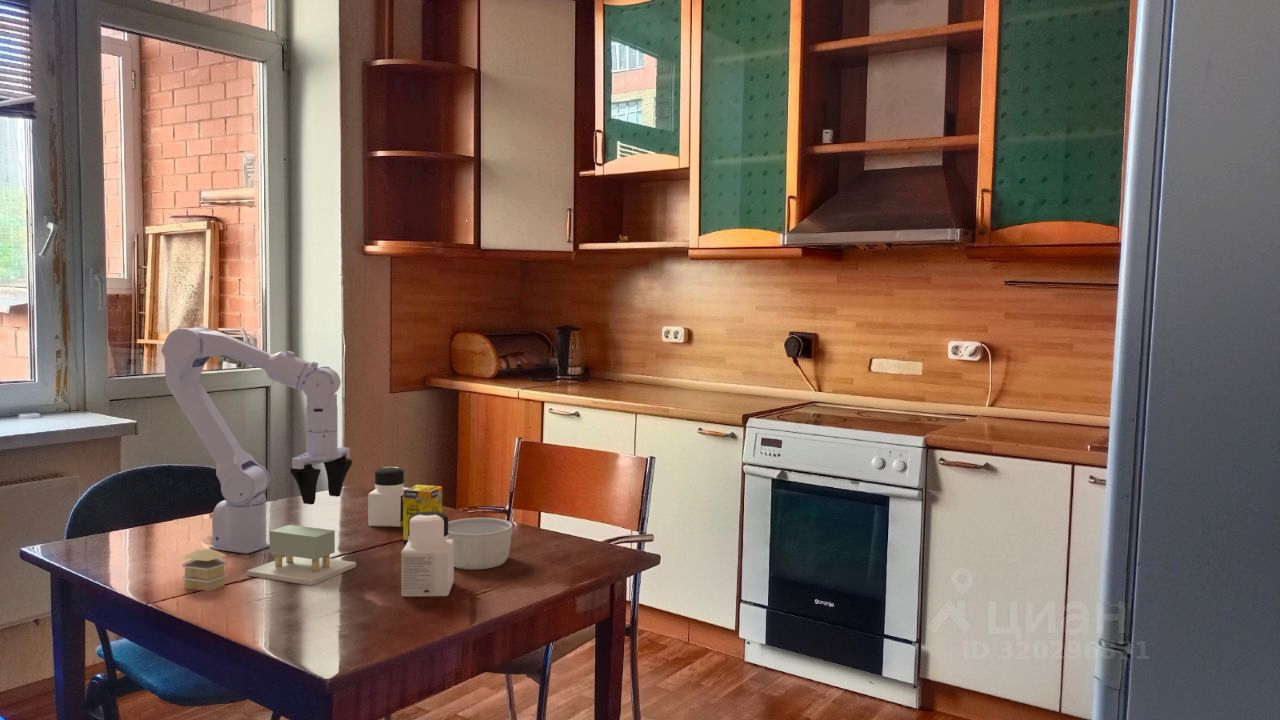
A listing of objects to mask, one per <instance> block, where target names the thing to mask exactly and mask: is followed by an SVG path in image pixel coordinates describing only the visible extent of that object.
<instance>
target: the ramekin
mask: <svg viewBox="0 0 1280 720" xmlns="http://www.w3.org/2000/svg"><path fill="white" fill-rule="evenodd" d="M513 530H514V527H513V523H512V522H510V521H508V520H505V519H500V518H493V517H470V518H461V519H459V518H458V519H454V520H451V521H448V539H453V540H454V568H456V569H461V570H486V569H492V568H496V567H499V566H501V565H503V564H505V562H506V561H507V559H508V558H509V555H510V550H511V548H510V547H511V541H512V534H513Z"/></svg>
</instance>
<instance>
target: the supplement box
mask: <svg viewBox="0 0 1280 720" xmlns="http://www.w3.org/2000/svg"><path fill="white" fill-rule="evenodd" d="M408 488H409V489H405V490H404V507H403V525H402V528H403V531H402V533H403V534H402V544H405V545H406V544H407V542H408V541H409V540H408V519H409V518H410V516H412V515H414V514H416V513H419V512H425V511H435V512H441V513H443V486H441V485H426V484H415V485H414V486H411V487H408Z"/></svg>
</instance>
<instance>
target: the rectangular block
mask: <svg viewBox="0 0 1280 720" xmlns="http://www.w3.org/2000/svg"><path fill="white" fill-rule="evenodd" d="M335 533H336V531H335V530H333V529H326V528H325V529H324V528H320V527H319V528H318V527H309V526H304V525H303V526H302V525H293V524H287V525H284V526H280V527H277V528H275V529H272V530H269V541H270V546H269V554H272V555H275V554H279V555H282V556H285V557H286V556H293V557H300V558H307V559H314V560H317V559H319V558H322V557H324V556H327V555H330V556H331V555H332V554H335V553H336V552H335V551H336V545H335V543H336V541H335V540H336V539H335V537H336V534H335Z"/></svg>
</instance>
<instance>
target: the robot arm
mask: <svg viewBox="0 0 1280 720" xmlns="http://www.w3.org/2000/svg"><path fill="white" fill-rule="evenodd" d="M161 354H162V355H163V358H164V374H165V383H166V386H167V388H168V390H169V391H170V392H171V394H172V396H173V397H174V400H175V401H176V402H177V404H178V405H179V407H180V409H181V411H182V412H183V413H184V415H185V417H186V418H187V419H188V422H189V423H190V425H191V426H192V428H193V429H194V430H195V432H196V434H197V436H198V437H199V438H200V440H201V442H202V444H203V445H204V447H205V448H206V450H207V451H208V453H209V454H210V456H211V457H212V460H213V461H214V462H215V465H216V466H215V467H216V468H215V475H216V476H215V477H217V480H218V481H219V483H220V491H221V494H222V496H223V498H224V500H221V501H220V502H218V503H217V504H216V506H215V507H214V509H213V512H212V514H211V515H212V518H211V519H212V520H211V522H212V526H211V527H212V531H211V532H212V534H211V535H212V540H211V541H212V544H211V545H209V546H208V549H212V550H216V551H224V552H225V551H227V552H232V553H239V554H246V555H247V554H251V553H254V552H257V551H261V550H263V549H266V548H270V540H268V539H267V497H266V495H265V493H264V492H265V491H266V490H267V489H268V487H269V484H270V480H271V479H270V474H269V471H268V470H267V469H266V468H265V467H264V466H263V465H261V464H259V463H258V462H257V461H256V460H255V458H254V456H252V455H251V454H250V453H249V452H247V451H245V450H244V449H243V448H242V447H241V445H240V443H239V442H238V440H237V439H236V437H235V435H234V434H233V432H232V431H231V428H230V427H229V426H228V424H227V422H226V421H225V419H224V418H223V416H222V414H221V413H220V411H219V410H218V408H217V406H216V405H215V404H214V402H213V400H212V398H211V397H210V395H209V394H208V392H207V391H206V389H205V387H204V386H203V384H202V383H201V382H200V378H201V375H202V372H203V370H204V368H205V367H204V366H205V365H206V364H207V362H208V361H209V360H210V358H212V357H219V356H223V357H228V358H231V359H233V360H237V361H239V362H241V363H244V364H247V365H250V366H253V367H256V368H259V369H262V370H264V372H265V374H266V375H267V377H268V379H270V380H271V381H275V383H276V382H277V383H279V384H282V385H283V386H287V387H289V388H292V389H294V390H297V391H300V392H302V391H303V394H304V395H305V396H306V409H305V411H306V413H305V414H306V415H305V417H306V421H305V422H306V423H305V424H306V425H305V426H306V427H305V428H306V431H305V433H306V434H305V435H306V436H305V438H306V440H305V441H306V442H305V443H306V445H305V446H306V448H305V449H306V450H305V451H306V452H305V453H303V454H300V455H298V456H295V457H292V458H291V466H290V473H291V474H292V476H293V478H294V480H295V482H296V484H297V486H298V489H299V492H300V495H301V499H302V503H303V504H304V505H315V502H316V494H317V484H318V480H319V476H320V473H321V471H322V470H321V469H319V468H315V467H314V466H315V465H320V464H322V463H323V465H324V468H325V472H326V477H327V489H328V491H327V492H328V495H329V496H330V497H336V498H337V497H338V498H339V497H341V493H342V490H343V486H344V482H345V479H346V476H347V474H348V472H349V469H350V468H351V466H352V465H353V460H352V459H350V457H351V454H350V453H351V449H350V447H346V446H341V447H338V394H337V392H338V391H339V389H340V386H341V378H340V375H339V374H338V372H337V371H335V370H334V369H332V368H331V367H329V366H320V367H319V362H316V361H311V362H309V361H308V360H304V359H302V358H300V357H297V356H295V354H296V353H295V352H293V351H290V350H288V351H286V352H284V351H281V350H280V351H279V352H276V353H274V354H272V353H269V352H267V351H265V350H262V349H261V348H258V347H256V346H253V345H251V344H249V343H247V342H244V341H242V340H240V339H237V338H236V337H234V336H231V335H229V334H227V333H224V332H221V331H217V330H211V329H210V328H207V327H204V326H194V327H192V328H190V327H189V328H185V327H181V328H176V329H174V330H172V331H171V332H170V333H168V335H167V337H166V339H165V341H164V343H163V346H162V348H161ZM348 458H349V459H348Z"/></svg>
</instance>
